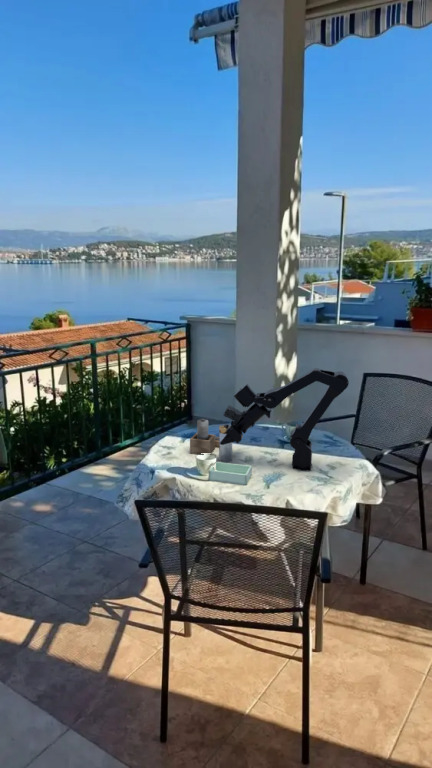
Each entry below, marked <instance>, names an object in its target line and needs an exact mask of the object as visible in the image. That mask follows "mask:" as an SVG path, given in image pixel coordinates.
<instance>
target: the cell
mask: <svg viewBox="0 0 432 768" xmlns="http://www.w3.org/2000/svg"><path fill="white" fill-rule="evenodd" d="M230 426H231V424H228V423H224V424H221V425H219V426H218V429H219V430H218V431H219V432H218V435H219V436H218V437H219V448H218V462H222V463H230V462H232V461H233V442H232V443H228V444H224V445H221V444H220V442H221V441H222V440H223V438H224V437H225V436H226V434H227V432H226V430H227V428H228V427H230Z"/></svg>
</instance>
